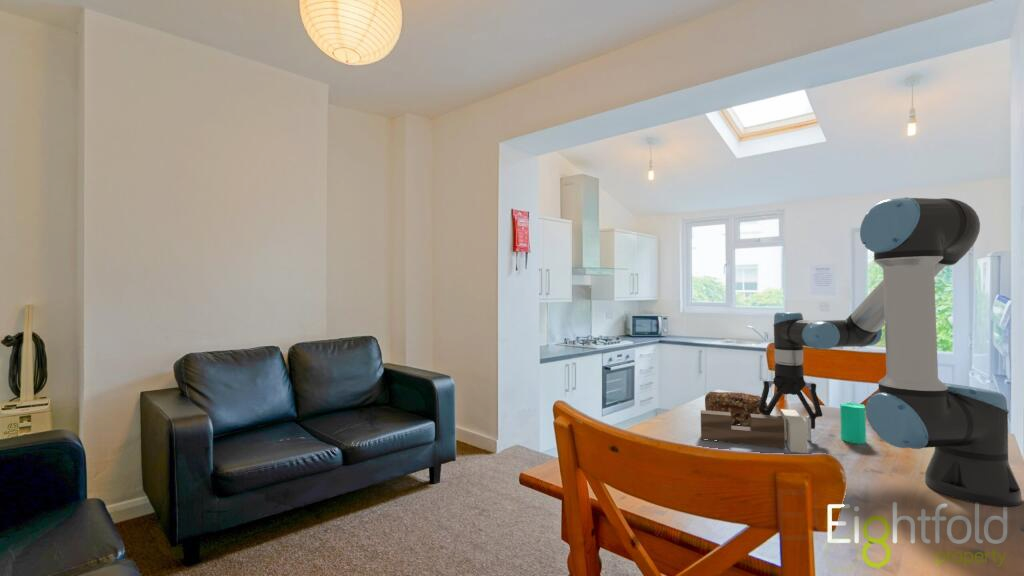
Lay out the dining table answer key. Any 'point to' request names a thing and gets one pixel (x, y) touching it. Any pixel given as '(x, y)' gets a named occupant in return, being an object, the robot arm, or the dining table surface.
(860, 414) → the candle
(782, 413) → the cream bar
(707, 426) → the walnut rail
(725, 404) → the bread
